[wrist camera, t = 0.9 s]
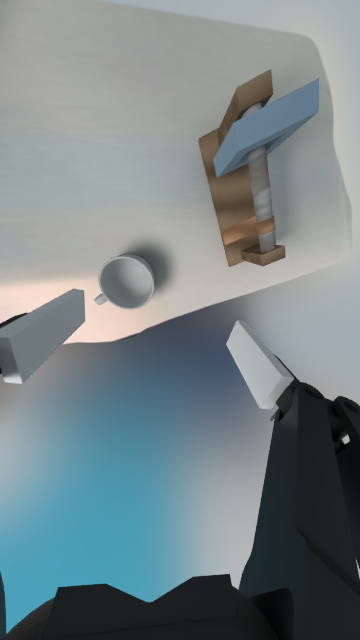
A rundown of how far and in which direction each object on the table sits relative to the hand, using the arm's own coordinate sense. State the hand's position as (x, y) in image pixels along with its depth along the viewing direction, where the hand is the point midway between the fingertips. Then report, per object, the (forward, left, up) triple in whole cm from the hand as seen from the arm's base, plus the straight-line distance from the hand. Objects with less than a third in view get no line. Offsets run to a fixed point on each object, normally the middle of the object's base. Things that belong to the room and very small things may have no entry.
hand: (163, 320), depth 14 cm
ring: (-12, +19, -23) cm, 32 cm away
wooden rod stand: (-6, +19, -27) cm, 34 cm away
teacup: (-1, -10, -28) cm, 29 cm away
